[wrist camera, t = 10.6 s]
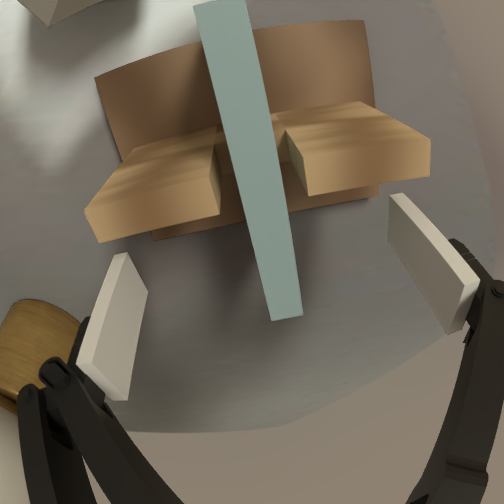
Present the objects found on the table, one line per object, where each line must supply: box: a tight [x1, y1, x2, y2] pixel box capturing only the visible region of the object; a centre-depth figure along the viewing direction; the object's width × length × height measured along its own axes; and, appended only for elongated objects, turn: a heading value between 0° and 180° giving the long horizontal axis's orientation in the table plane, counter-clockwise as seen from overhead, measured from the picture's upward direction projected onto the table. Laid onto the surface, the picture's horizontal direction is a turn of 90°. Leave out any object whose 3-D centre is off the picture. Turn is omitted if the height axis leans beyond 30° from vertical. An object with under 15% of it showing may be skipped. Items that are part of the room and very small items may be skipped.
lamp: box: [0, 299, 80, 504], centre depth 18 cm, size 15×14×25 cm
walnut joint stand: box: [84, 20, 431, 243], centre depth 15 cm, size 16×12×9 cm
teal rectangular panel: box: [193, 0, 303, 321], centre depth 15 cm, size 2×14×8 cm, turn 12°
